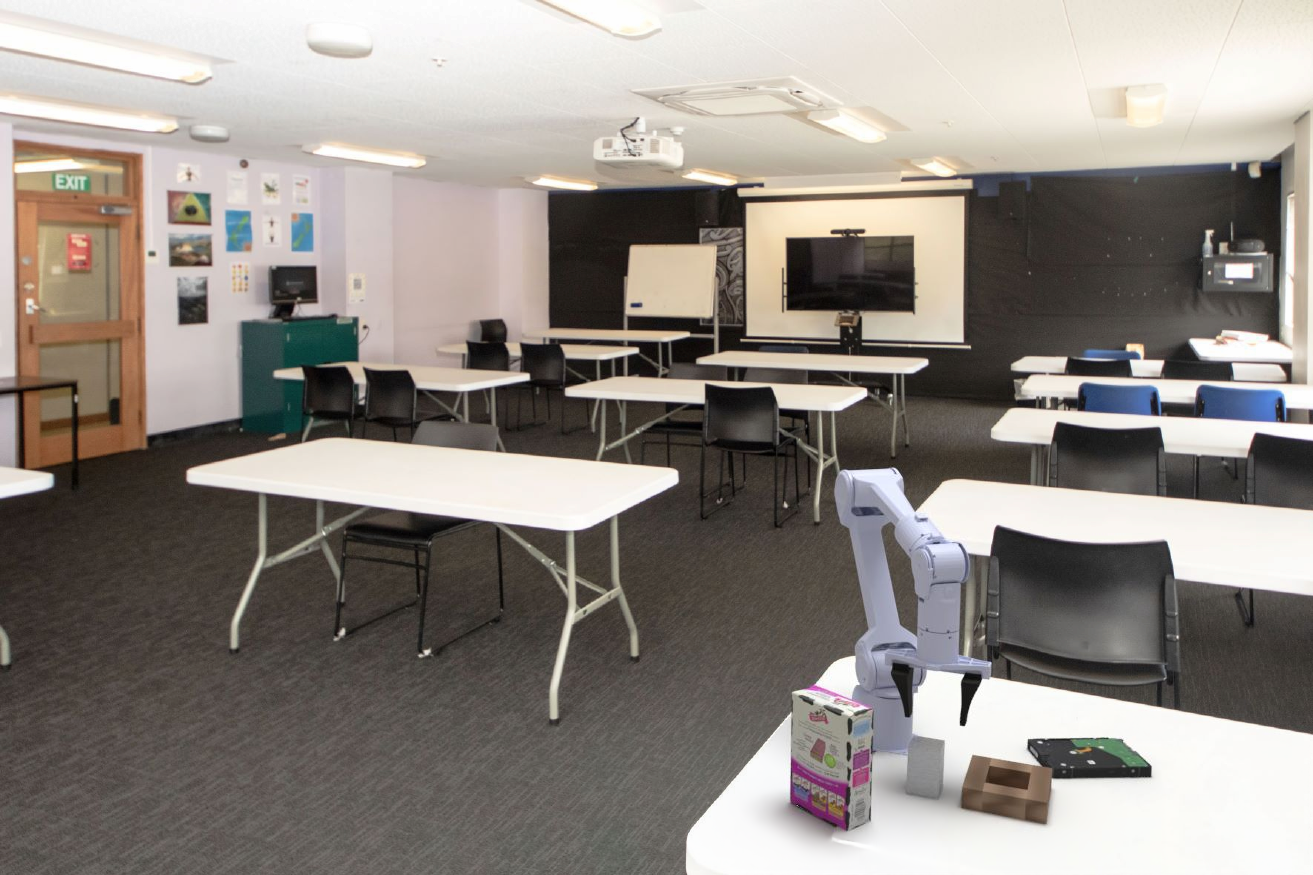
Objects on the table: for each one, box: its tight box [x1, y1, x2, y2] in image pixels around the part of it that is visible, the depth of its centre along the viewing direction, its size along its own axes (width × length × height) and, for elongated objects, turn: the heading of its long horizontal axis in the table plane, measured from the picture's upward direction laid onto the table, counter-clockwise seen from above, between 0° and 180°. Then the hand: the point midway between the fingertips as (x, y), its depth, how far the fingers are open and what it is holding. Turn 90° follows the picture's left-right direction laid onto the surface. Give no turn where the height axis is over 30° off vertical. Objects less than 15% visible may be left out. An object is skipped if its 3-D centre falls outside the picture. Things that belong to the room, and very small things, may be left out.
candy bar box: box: [789, 684, 874, 832], centre depth 143 cm, size 11×5×16 cm, turn 37°
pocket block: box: [960, 754, 1053, 825], centre depth 147 cm, size 11×11×4 cm
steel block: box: [906, 735, 946, 801], centre depth 149 cm, size 4×4×7 cm
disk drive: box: [1026, 736, 1153, 780], centre depth 158 cm, size 10×3×15 cm
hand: (935, 719), depth 149 cm, fingers open, 7 cm apart
